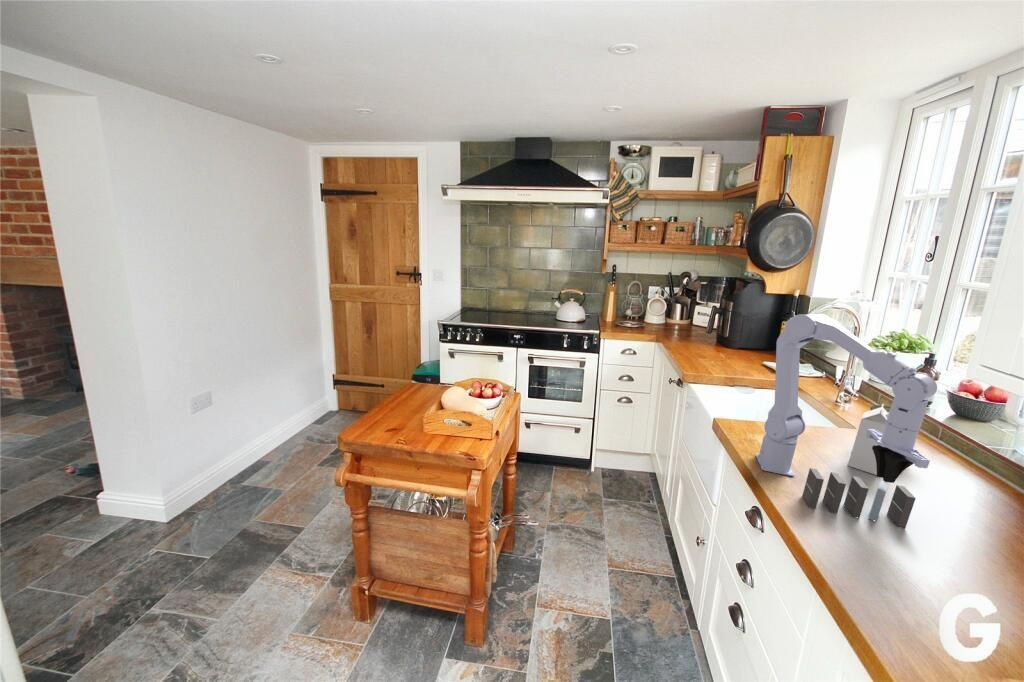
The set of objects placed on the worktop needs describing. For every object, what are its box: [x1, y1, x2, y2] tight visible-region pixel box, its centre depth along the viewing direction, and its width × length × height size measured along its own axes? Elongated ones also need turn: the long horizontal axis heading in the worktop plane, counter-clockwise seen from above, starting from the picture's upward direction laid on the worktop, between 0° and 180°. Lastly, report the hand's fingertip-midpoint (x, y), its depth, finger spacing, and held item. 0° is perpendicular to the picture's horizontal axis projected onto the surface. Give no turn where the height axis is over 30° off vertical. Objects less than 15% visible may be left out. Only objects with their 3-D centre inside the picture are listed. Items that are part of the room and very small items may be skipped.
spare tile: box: [868, 481, 889, 521], centre depth 104 cm, size 2×5×8 cm, turn 136°
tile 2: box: [822, 472, 847, 515], centre depth 106 cm, size 2×5×8 cm, turn 162°
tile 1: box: [801, 467, 825, 510], centre depth 108 cm, size 2×5×8 cm, turn 163°
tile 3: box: [843, 475, 869, 519], centre depth 105 cm, size 2×5×8 cm, turn 162°
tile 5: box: [886, 484, 916, 529], centre depth 103 cm, size 2×5×8 cm, turn 162°
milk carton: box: [847, 403, 889, 476], centre depth 126 cm, size 7×7×19 cm
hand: (885, 479), depth 102 cm, fingers closed
